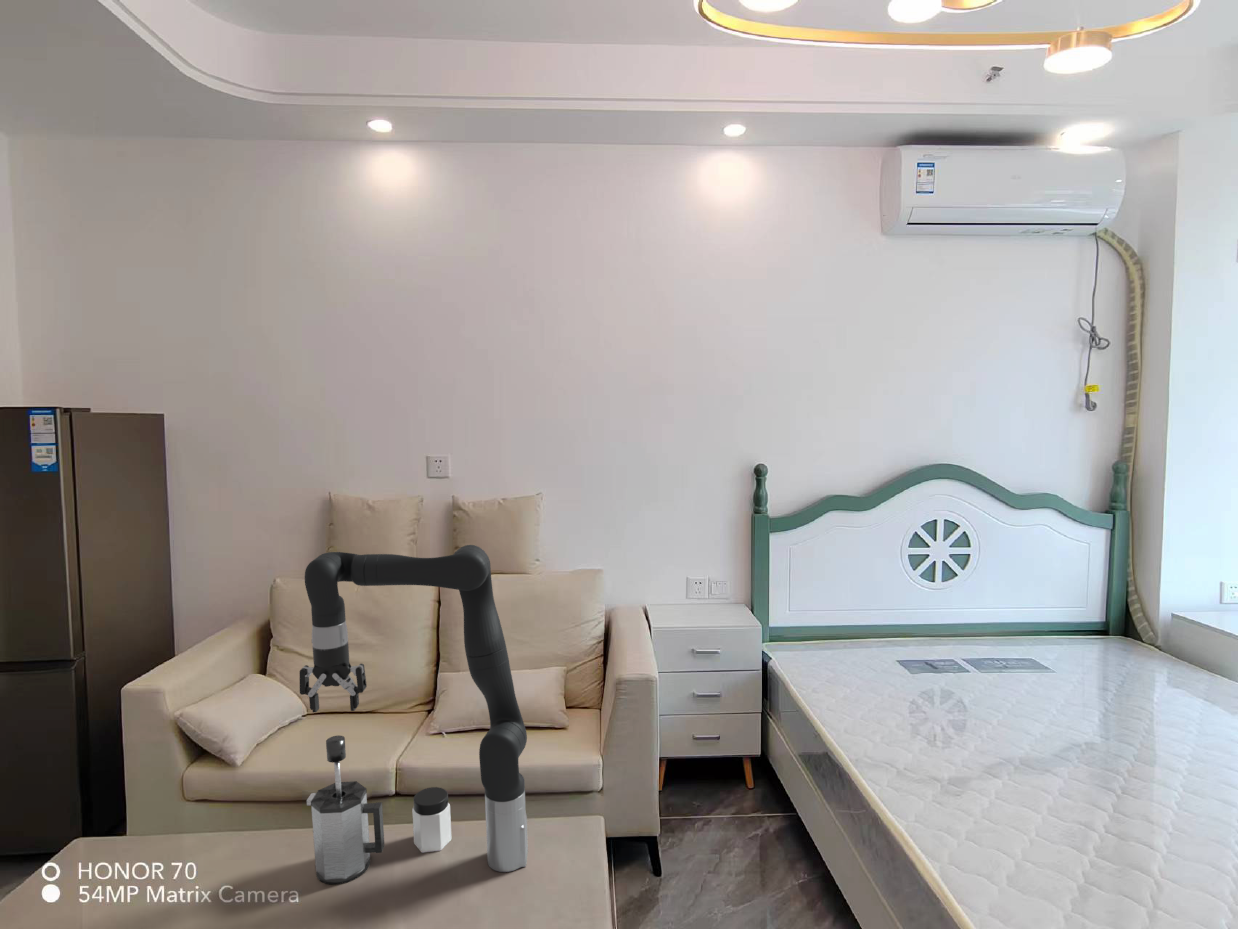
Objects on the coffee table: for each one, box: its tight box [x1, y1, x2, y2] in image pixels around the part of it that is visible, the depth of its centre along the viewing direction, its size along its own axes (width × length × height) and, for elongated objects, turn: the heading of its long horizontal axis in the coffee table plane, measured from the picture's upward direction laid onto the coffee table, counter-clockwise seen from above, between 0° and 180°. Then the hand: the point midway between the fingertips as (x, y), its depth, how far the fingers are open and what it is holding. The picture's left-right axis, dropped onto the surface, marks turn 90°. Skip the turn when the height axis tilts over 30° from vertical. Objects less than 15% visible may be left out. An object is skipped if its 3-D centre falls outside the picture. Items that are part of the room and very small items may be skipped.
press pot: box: [306, 780, 385, 886], centre depth 170 cm, size 16×12×18 cm
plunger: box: [325, 734, 347, 798], centre depth 168 cm, size 4×4×20 cm
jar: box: [411, 786, 452, 853], centre depth 179 cm, size 9×8×12 cm
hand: (334, 710), depth 167 cm, fingers open, 8 cm apart
